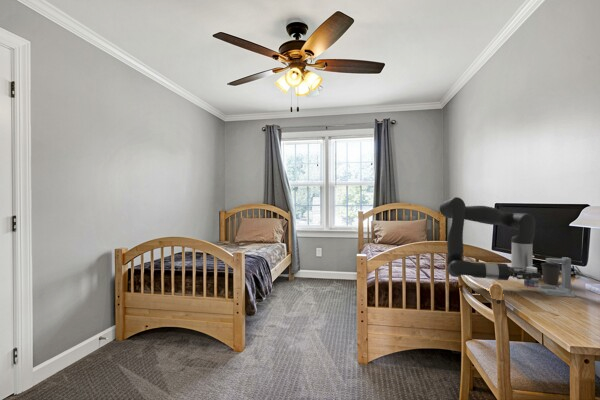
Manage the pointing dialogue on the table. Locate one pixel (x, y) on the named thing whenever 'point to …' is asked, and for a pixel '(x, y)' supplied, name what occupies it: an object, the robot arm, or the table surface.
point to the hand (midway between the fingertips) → (538, 274)
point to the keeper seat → (566, 279)
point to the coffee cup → (550, 273)
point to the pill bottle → (534, 281)
